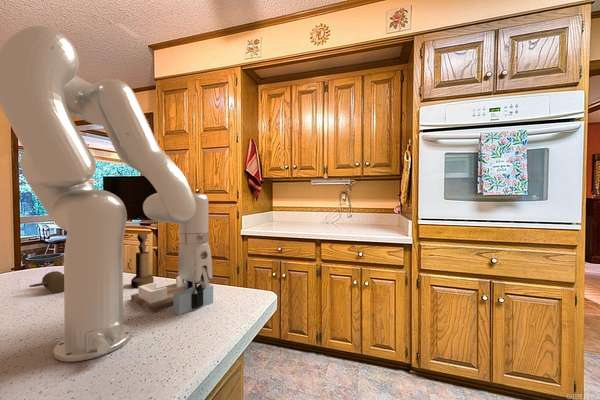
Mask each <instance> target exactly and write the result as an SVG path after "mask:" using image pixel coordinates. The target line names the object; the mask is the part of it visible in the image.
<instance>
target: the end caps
mask: <svg viewBox="0 0 600 400" xmlns="http://www.w3.org/2000/svg"><path fill="white" fill-rule="evenodd" d="M199 280H201V279H199ZM175 283H176V287H181V286H184V284H183V282H182V280H181V279H180V277H179V276H177V277H175ZM198 285H200V284H197V286H198ZM163 287H164V286H163ZM156 288H157V282H154V283H151V284H146V285H142V286H138V289H137V290H138V297H140V298H141V299H143V300H145V301H147V302H149V303H153V302H157V301H160V300H163V299H167V287H164V288H160V287H159V288H160V289H156Z"/></svg>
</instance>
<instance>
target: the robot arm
mask: <svg viewBox="0 0 600 400" xmlns="http://www.w3.org/2000/svg"><path fill="white" fill-rule="evenodd" d="M79 67H80V59H79V54H78V53H77V49H76V48H75V47H74V44H73V43H72V42H71V41H70V40H69V38H68V37H66V35H64V34H63V33H62V32H60V31H58V30H56V29H54V28H52V27H49V26H44V25H31V26H27V27H24V28H22V29H20V30H18V31H16V32H14V33H13V34H11V36H9V37H8V38H7V39H6V40H5V41H4V43H2V45H1V46H0V109H1V111H2V113H3V114H4V116H5V118H6V120H7V121H8V123H9V125H10V127H11V128H12V131H13V133H14V134H15V136H16V138H17V139H18V141H19V143H20V145H21V146H22V148H23V150H24V152H23V153H22V155H21V157H20V161H19V164H20V170H21V172H22V175H23V177H24V179H25V181H26V182H27V184H28V186H29V187H30V188H31V190H32V192H33V194H34V195H35V196H36V198H37V199H38V201H39V202H40V204H41V206H42V208H43V209H44V210H45V212H46V214H47V215H48V216H49V218H50V219H51V220H52V222H53V223H54V224H56V226H57V227H59V228H60V229H62V230H63V231H66V239H65V245H64V251H63V252H64V254H63V274H64V292H63V293H64V294H63V296H64V297H63V298H64V299H63V300H64V302H63V303H64V305H63V306H64V308H63V311H64V316H63V317H64V318H63V319H64V321H63V322H64V325H63V326H64V330H63V331H64V338H63V339H62V340H60V341H58V343H57V344H56V345H55V347H54V348H53V357H54V358H55V359H56V360H58V361H60V362H69V363H70V362H71V363H72V362H81V361H86V360H91V359H95V358H98V357H101V356H104V355H106V354H109V353H112V352H114V351H115V350H117V349H120V348H121V347H122V346H124V345H125V344H126V343H128V342H129V340H131V338H132V336H133V335H132V334H133V332H132V331H133V330H132V327H131V326H129V325H126V324H124V240H125V239H124V238H125V233H126V228H127V221H128V213H127V209H126V206H125V204H124V202H123V200H122V199H121V198H120V197H119V196H117V195H116V194H114V193H112V192H111V191H107V190H104V189H94V186H93V185H92V184H91V181H90V180H91V178H93V176H94V175H95V172H96V170H97V166H96V165H97V164H96V159H95V158H94V156H93V153H92V152H91V150H90V149H89V147H88V145H87V143H86V141H85V139H84V137H83V136H82V134H81V132H80V130H79V129H78V126H77V124H76V123H75V121H74V119H73V116H74V117H76V118H79V119H81V120H83V121H85V122H86V123H90V124H93V125H95V126H99V127H100V126H101V127H103V129H104V131H105V133H106V135H107V137H108V139H109V141H110V142H111V144H112V147H113V148H114V151H115V152H116V154H117V156H118V158H119V159H120V161H122V162H123V163H124V164H126V165H127V166H128V167H130V168H131V169H133V170H135V171H137V172H139V173H140V174H141V175H143V176H144V177H145V178H146V179H147V180H148V181H149V182H150V184H151V185H152V186H153V188H154V189H155V190H156V193H153V194H151V195H149V196H147V197H146V199H145V200H144V201H143V203H142V210H143V213H144V215H145V216H146V217H147V218H148V219H150V220H152V221H153V222H158V223H169V224H170V223H171V224H178V246H179V248H178V258H177V271H178V272H177V273H178V277H180V279H181V280H182V282H183V284H184V286H183V289H184V290H185V289H188V288H192V287H193V294H192V309H194V310H196V309H195V308H197V309H199V308H198V307H200V308H202V307H201V306H203V292H204V291H205V288H206V287H208V286H209V285H210V280H212V279H213V262H212V261H213V260H212V259H213V258H212V252H211V246H210V244H209V197H208V196H207V194H204V193H194V192H193V191H192V189H191V187H190V184H189V182H188V180H187V178H186V177H185V175H184V173H183V172H182V170H181V169H180V168H179V167H178V165H177V164H176V163H175V162H174V160H172V159H171V158H170V156H169V155H168V154H167V153H165V152H164V150H162V148H161V147H160V145H159V144H158V141H157V140H156V138H155V135H154V133H153V131H152V129H151V125H150V124H149V122H148V119H147V118H146V115H145V114H144V111H143V109H142V106H141V105H140V102H139V100H138V98H137V96H136V94H135V92H134V90H133V89H132V87H130V86H129V85H128V84H127V83H125V82H124V81H121V80H119V79H114V78H107V79H102V80H99V81H97V82H94V83H90V82H88V81H86V80H85V79H83V78H81V77H80V76H78V75H77V74H78V71H79ZM199 279H201V280H199ZM197 284H200V285H198V287H197ZM203 307H204V306H203Z"/></svg>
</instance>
